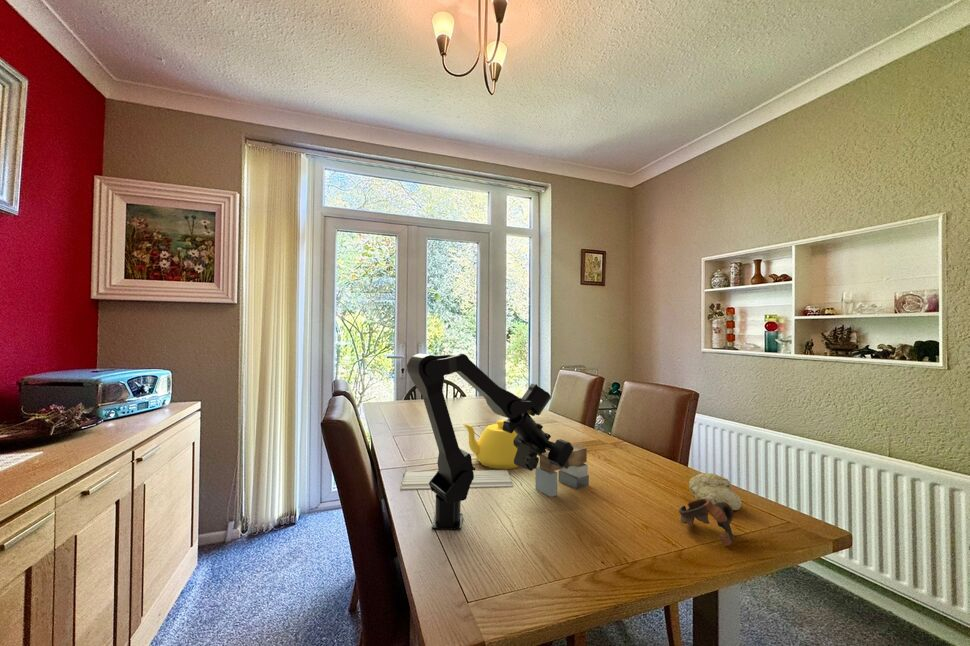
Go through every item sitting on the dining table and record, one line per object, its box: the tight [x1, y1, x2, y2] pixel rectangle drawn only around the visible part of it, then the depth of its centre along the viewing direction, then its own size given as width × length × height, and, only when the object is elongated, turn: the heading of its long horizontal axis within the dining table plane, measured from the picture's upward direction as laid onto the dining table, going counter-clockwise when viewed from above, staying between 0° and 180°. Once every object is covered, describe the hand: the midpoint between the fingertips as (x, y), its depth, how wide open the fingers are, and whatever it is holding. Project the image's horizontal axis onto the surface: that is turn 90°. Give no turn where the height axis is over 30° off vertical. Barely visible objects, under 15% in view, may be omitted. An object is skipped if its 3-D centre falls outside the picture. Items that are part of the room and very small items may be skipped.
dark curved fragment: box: [678, 498, 735, 548], centre depth 81 cm, size 12×10×8 cm
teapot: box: [462, 419, 520, 470], centre depth 124 cm, size 25×18×14 cm
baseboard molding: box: [400, 469, 513, 491], centre depth 107 cm, size 31×3×12 cm
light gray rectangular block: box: [535, 465, 558, 498], centre depth 101 cm, size 2×6×6 cm, turn 34°
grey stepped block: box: [558, 463, 590, 491], centre depth 107 cm, size 5×7×6 cm
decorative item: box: [688, 472, 742, 511], centre depth 95 cm, size 12×9×10 cm
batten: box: [539, 444, 588, 472], centre depth 104 cm, size 15×4×4 cm, turn 124°
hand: (557, 463), depth 103 cm, fingers open, 8 cm apart
